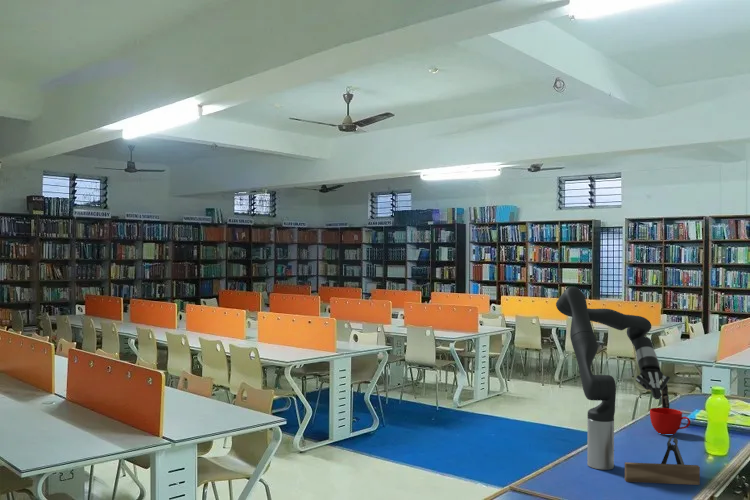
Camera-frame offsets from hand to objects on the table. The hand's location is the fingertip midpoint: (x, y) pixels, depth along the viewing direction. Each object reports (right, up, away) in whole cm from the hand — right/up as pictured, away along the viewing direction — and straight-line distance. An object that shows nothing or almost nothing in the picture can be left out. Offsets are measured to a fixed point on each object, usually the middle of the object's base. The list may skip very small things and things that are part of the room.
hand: (657, 398), depth 246 cm
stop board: (-10, -23, -26) cm, 36 cm away
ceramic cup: (+21, -25, +37) cm, 49 cm away
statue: (+32, -25, +61) cm, 73 cm away
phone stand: (-2, -23, -15) cm, 28 cm away
